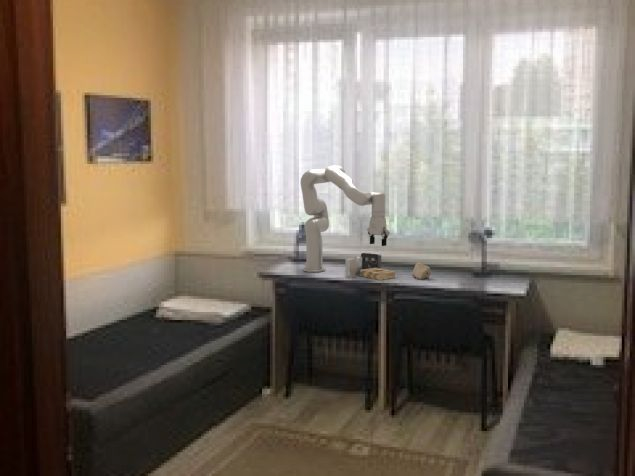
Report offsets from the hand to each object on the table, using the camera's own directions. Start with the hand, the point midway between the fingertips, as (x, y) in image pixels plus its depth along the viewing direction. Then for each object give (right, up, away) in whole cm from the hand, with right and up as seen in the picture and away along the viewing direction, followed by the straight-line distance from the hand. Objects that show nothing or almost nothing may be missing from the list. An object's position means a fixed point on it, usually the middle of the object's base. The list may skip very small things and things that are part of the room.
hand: (378, 244), depth 386 cm
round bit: (-10, -17, +11) cm, 23 cm away
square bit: (-15, -18, +4) cm, 24 cm away
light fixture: (-1, -16, +23) cm, 28 cm away
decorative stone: (+23, -19, -1) cm, 30 cm away
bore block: (0, -18, +2) cm, 18 cm away
